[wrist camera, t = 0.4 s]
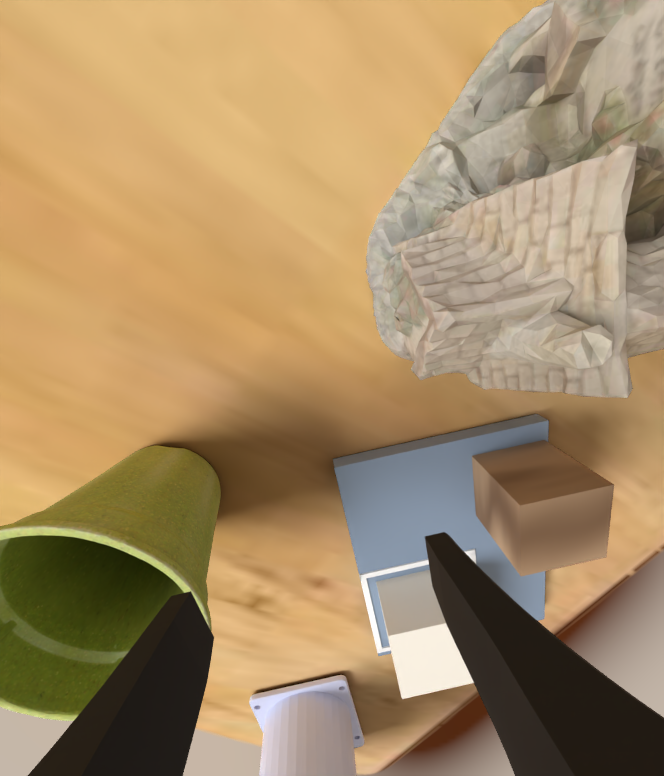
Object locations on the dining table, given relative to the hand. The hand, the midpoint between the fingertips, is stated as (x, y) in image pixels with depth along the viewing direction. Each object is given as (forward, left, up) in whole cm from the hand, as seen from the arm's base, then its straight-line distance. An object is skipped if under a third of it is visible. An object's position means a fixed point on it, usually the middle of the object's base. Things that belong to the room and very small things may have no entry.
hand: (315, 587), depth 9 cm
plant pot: (-1, +9, -10) cm, 14 cm away
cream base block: (-14, -5, -9) cm, 17 cm away
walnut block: (-5, -12, -9) cm, 15 cm away
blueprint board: (-10, -7, -10) cm, 16 cm away
